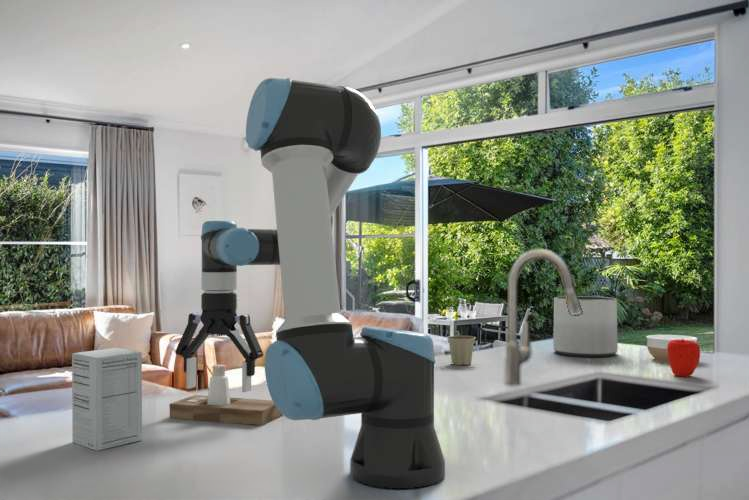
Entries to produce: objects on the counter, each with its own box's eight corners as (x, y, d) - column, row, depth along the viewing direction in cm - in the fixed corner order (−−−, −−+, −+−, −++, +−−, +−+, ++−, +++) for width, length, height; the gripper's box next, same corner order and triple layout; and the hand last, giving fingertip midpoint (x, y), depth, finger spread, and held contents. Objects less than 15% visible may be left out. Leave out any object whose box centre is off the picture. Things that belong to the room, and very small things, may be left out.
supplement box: (117, 432, 136) (117, 347, 136) (143, 440, 130) (144, 351, 131) (70, 442, 129) (70, 352, 129) (95, 451, 123) (96, 356, 123)
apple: (706, 377, 200) (706, 340, 200) (683, 379, 197) (683, 341, 197) (682, 372, 208) (682, 336, 208) (660, 374, 205) (660, 337, 205)
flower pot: (444, 365, 221) (444, 338, 221) (449, 361, 230) (449, 335, 230) (473, 366, 219) (473, 339, 219) (477, 362, 228) (477, 336, 228)
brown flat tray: (262, 425, 142) (262, 409, 142) (169, 417, 149) (169, 402, 149) (282, 414, 152) (282, 400, 152) (195, 408, 158) (195, 394, 158)
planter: (576, 348, 265) (576, 295, 265) (629, 354, 248) (629, 298, 248) (540, 353, 251) (540, 297, 251) (595, 360, 234) (595, 300, 234)
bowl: (635, 358, 238) (635, 335, 238) (674, 356, 243) (674, 333, 243) (668, 365, 223) (668, 340, 223) (708, 363, 228) (708, 338, 228)
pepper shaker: (206, 419, 147) (206, 367, 147) (205, 413, 153) (206, 363, 153) (232, 417, 149) (232, 366, 149) (230, 412, 154) (231, 362, 154)
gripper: (278, 291, 151) (278, 389, 151) (179, 290, 158) (178, 383, 158) (263, 293, 144) (262, 396, 143) (159, 291, 151) (159, 388, 151)
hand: (218, 389), depth 151 cm, fingers open, 13 cm apart
